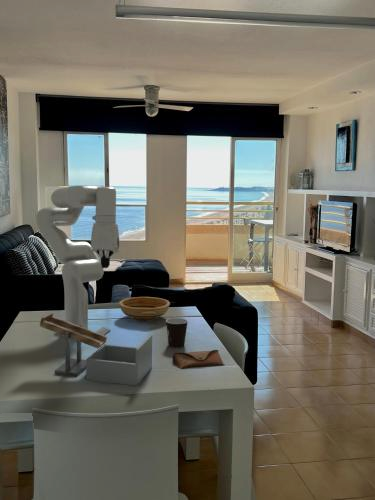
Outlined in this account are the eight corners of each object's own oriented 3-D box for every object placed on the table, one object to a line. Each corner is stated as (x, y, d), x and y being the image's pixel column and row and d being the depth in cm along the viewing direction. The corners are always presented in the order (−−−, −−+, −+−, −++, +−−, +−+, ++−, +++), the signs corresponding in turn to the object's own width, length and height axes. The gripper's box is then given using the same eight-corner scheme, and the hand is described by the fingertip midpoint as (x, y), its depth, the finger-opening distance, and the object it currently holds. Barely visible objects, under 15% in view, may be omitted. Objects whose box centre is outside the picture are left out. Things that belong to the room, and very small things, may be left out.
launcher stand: (54, 373, 162) (54, 332, 160) (70, 361, 174) (70, 323, 172) (76, 376, 160) (76, 335, 158) (91, 363, 172) (91, 325, 170)
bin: (86, 379, 158) (86, 344, 156) (104, 363, 173) (104, 330, 171) (137, 385, 154) (138, 349, 152) (151, 368, 169) (152, 335, 167)
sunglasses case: (178, 369, 168) (176, 350, 171) (173, 372, 175) (171, 354, 177) (226, 364, 174) (223, 346, 176) (220, 368, 180) (217, 350, 183)
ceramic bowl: (116, 311, 244) (116, 296, 243) (164, 310, 249) (164, 294, 248) (121, 328, 215) (121, 311, 214) (175, 326, 220) (175, 309, 219)
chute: (39, 326, 164) (41, 317, 164) (62, 313, 180) (64, 305, 180) (98, 348, 160) (100, 339, 160) (116, 334, 176) (118, 326, 176)
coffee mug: (184, 349, 189) (185, 324, 188) (163, 347, 191) (163, 323, 190) (190, 340, 201) (190, 317, 199) (170, 338, 202) (170, 315, 201)
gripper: (83, 219, 181) (82, 267, 183) (120, 221, 178) (120, 270, 180) (91, 218, 188) (91, 264, 191) (127, 220, 185) (127, 267, 187)
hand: (105, 267), depth 185 cm, fingers closed
